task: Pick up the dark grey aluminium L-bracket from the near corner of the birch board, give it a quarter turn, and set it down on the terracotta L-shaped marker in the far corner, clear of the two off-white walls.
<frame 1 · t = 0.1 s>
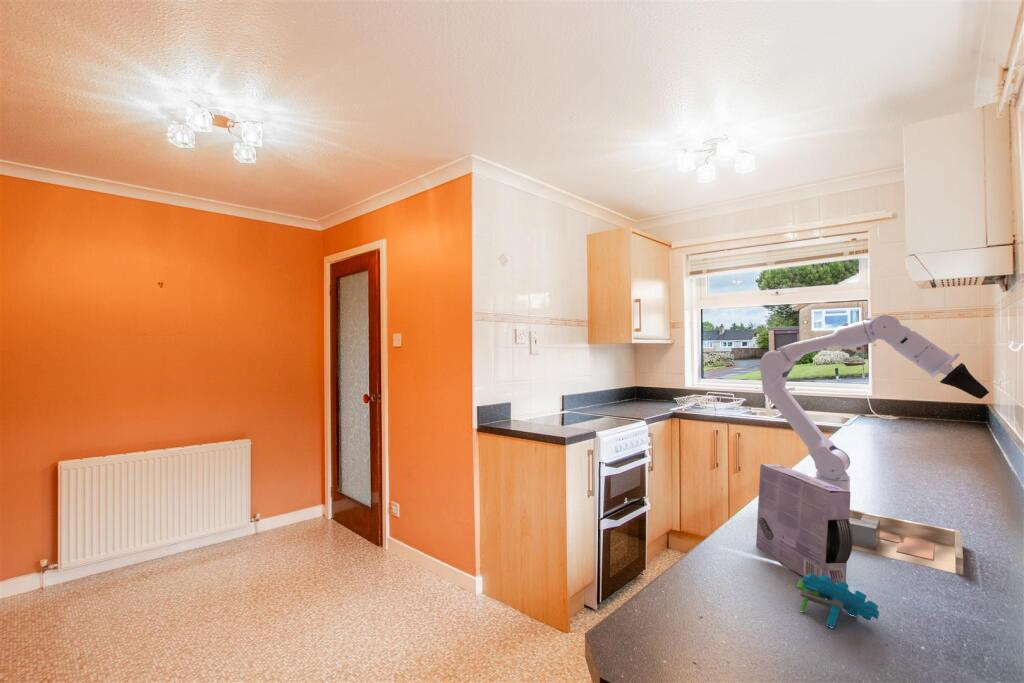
hand: (984, 394, 105), 32 cm above the countertop, tool tilted 50°, fingers open, 7 cm apart
bracket: (847, 541, 103), point 1 cm above the countertop, touching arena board
cake pan box: (799, 569, 92), on the countertop
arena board: (888, 545, 103), on the countertop
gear: (835, 621, 74), on the countertop
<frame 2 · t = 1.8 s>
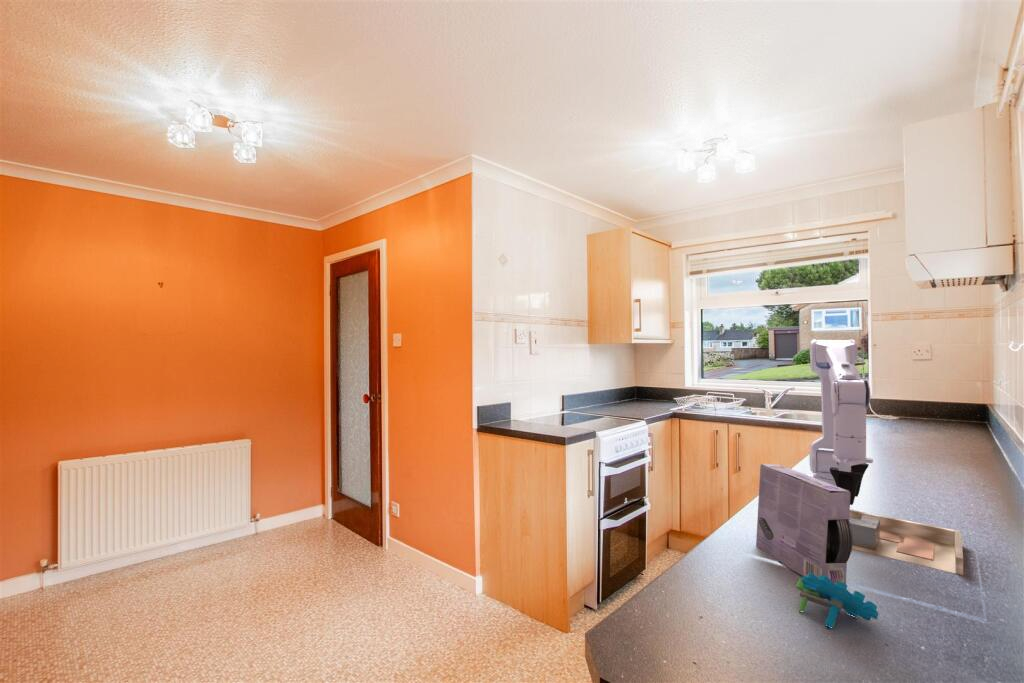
hand: (849, 499, 103), 10 cm above the countertop, tool pointing down, fingers open, 7 cm apart
nothing on the countertop moved.
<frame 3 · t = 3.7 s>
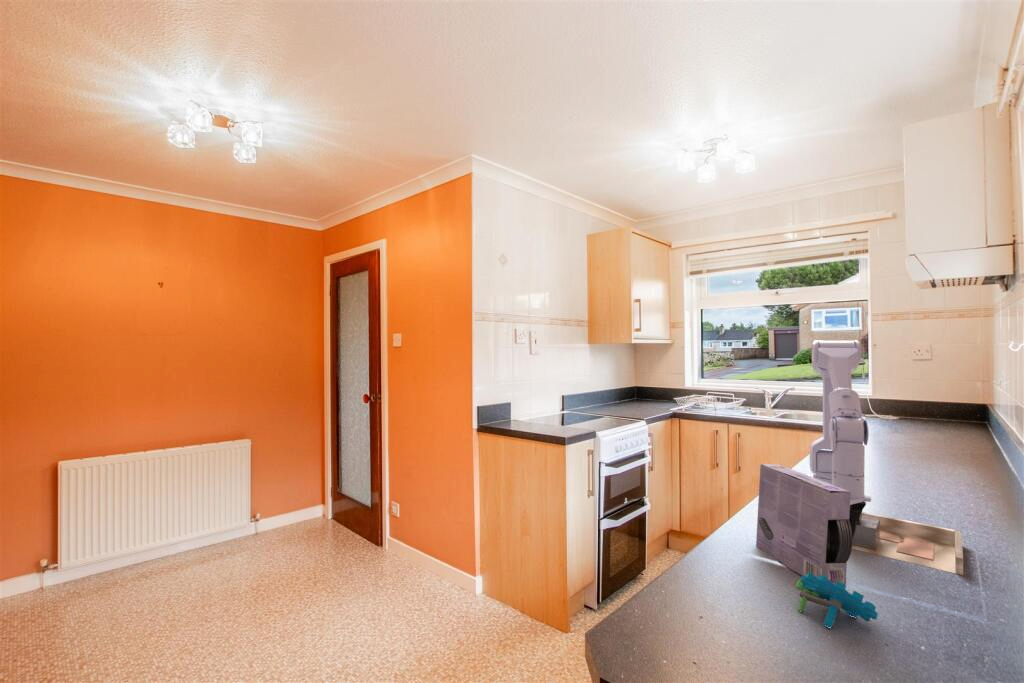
hand: (847, 536, 103), 2 cm above the countertop, tool pointing down, fingers closed on bracket, 4 cm apart
bracket: (847, 541, 103), point 1 cm above the countertop, touching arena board, gripper
everything else where it was.
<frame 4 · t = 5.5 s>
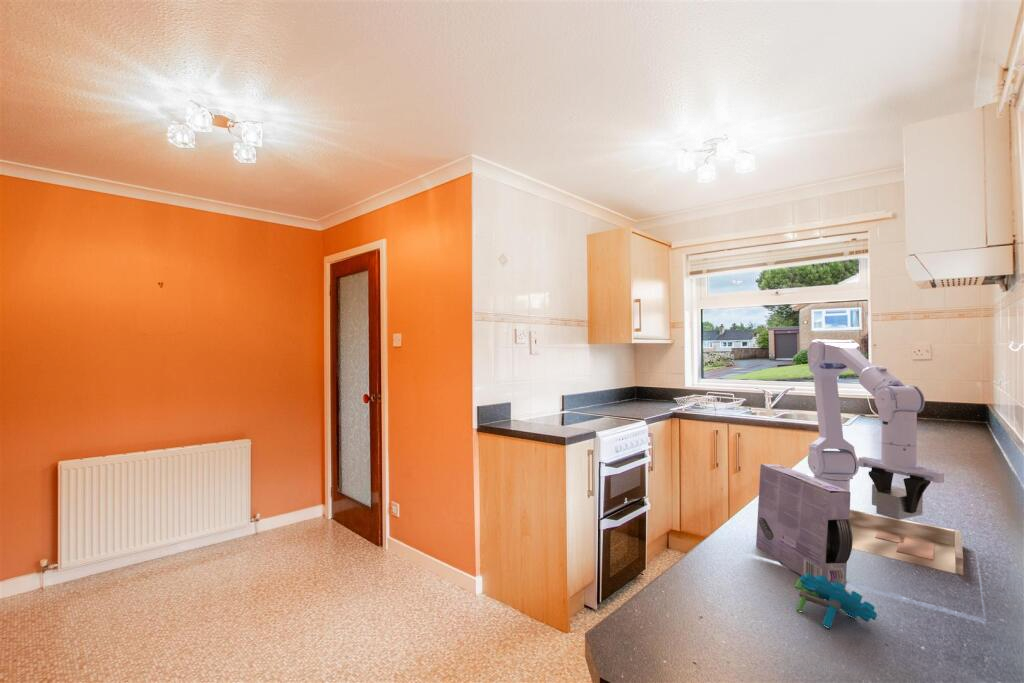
hand: (898, 508, 101), 9 cm above the countertop, tool pointing down, fingers closed on bracket, 4 cm apart
bracket: (898, 514, 100), point 7 cm above the countertop, touching gripper
everything else where it was.
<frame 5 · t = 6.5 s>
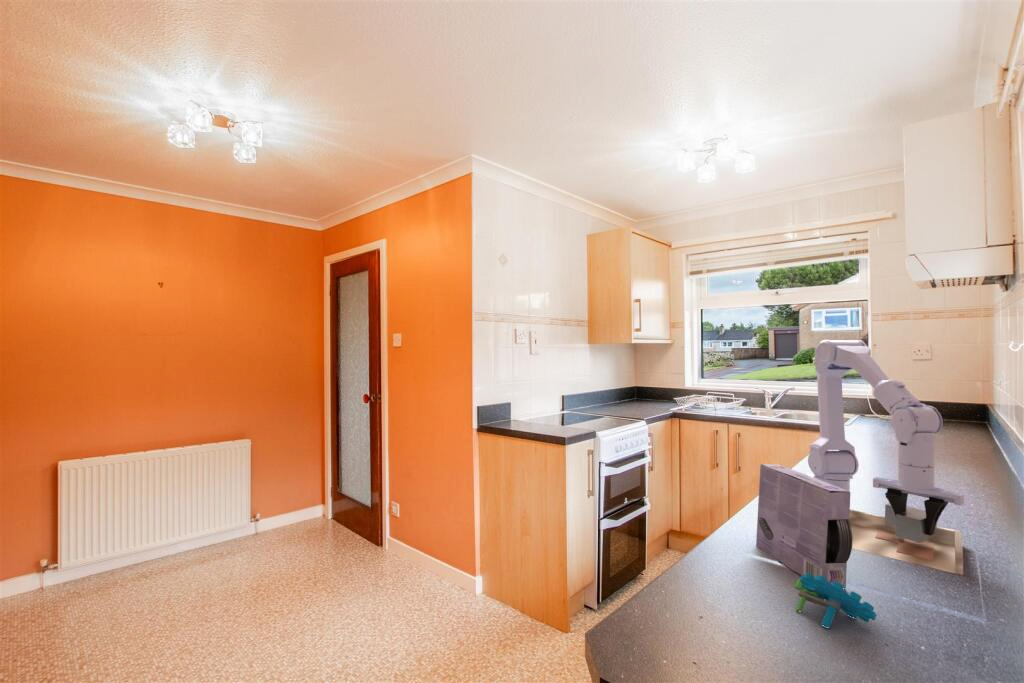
hand: (915, 530, 100), 4 cm above the countertop, tool pointing down, fingers closed on bracket, 4 cm apart
bracket: (915, 536, 100), point 3 cm above the countertop, touching gripper
everything else where it was.
when the fingers open (3 cm above the countertop, at t = 7.7 s): bracket stays where it is, resting on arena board.
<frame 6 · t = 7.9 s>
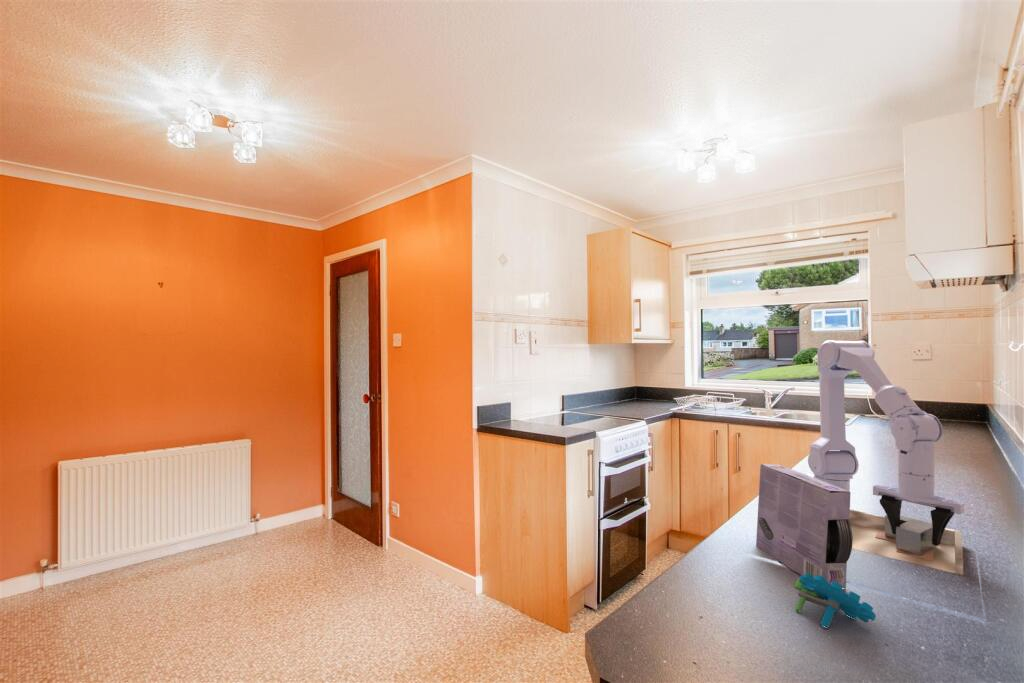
hand: (915, 538, 100), 3 cm above the countertop, tool pointing down, fingers open, 6 cm apart
bracket: (915, 548, 99), point 1 cm above the countertop, touching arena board
everything else where it was.
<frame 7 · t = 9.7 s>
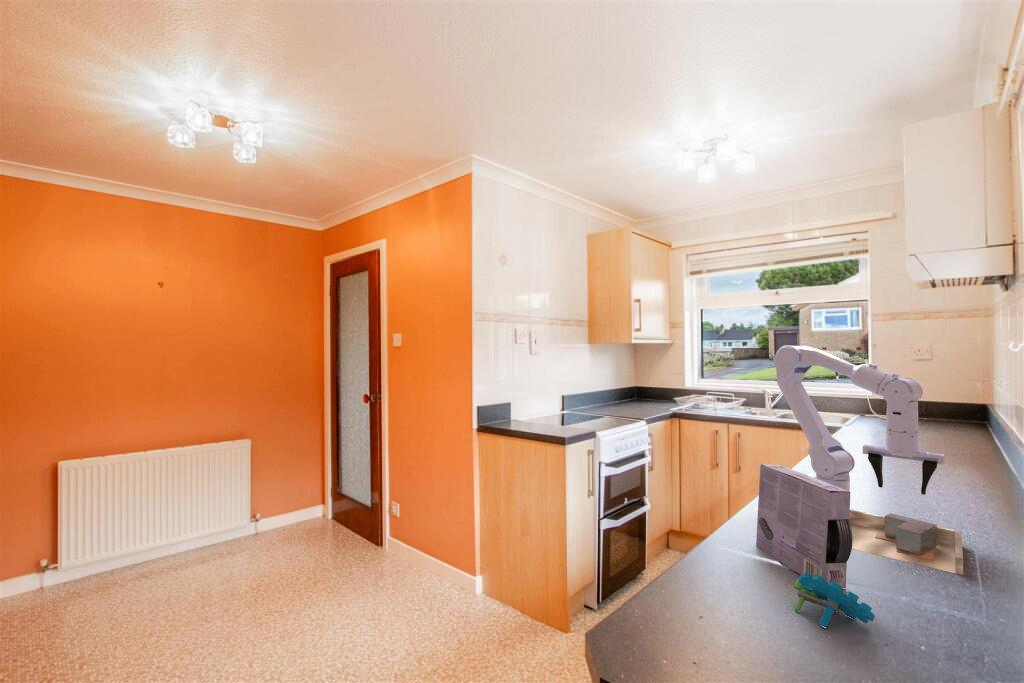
hand: (901, 489, 111), 9 cm above the countertop, tool pointing down, fingers open, 7 cm apart
nothing on the countertop moved.
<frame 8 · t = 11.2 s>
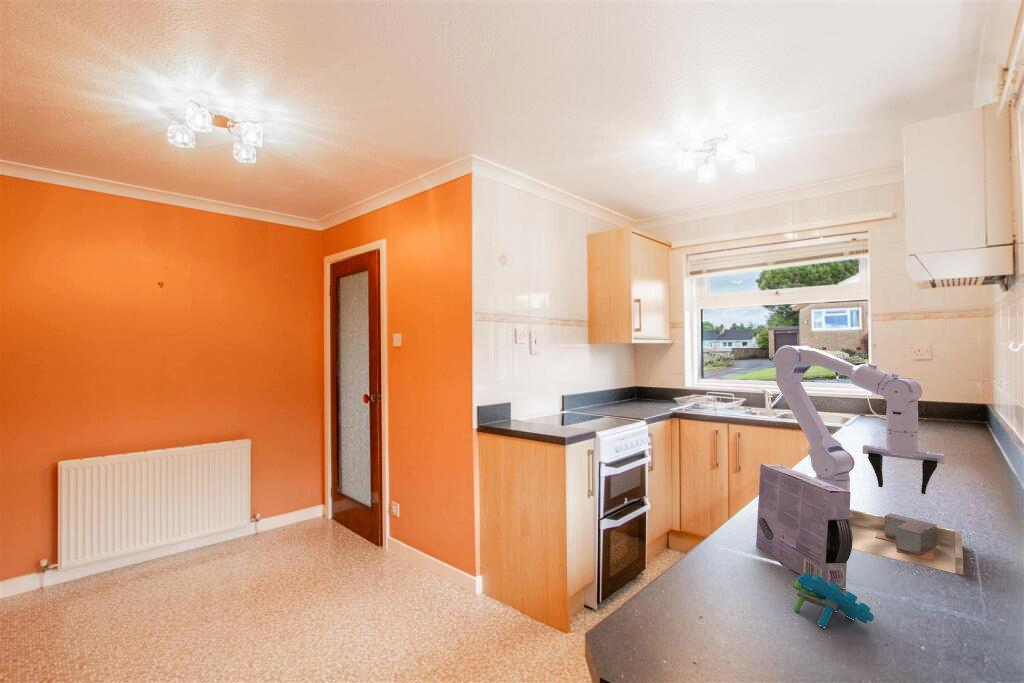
hand: (901, 489, 111), 9 cm above the countertop, tool pointing down, fingers open, 7 cm apart
at the end: bracket 0.2 cm from the target spot, point 0.8 cm above the countertop; bracket tilted 0°; the gripper is holding nothing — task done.
